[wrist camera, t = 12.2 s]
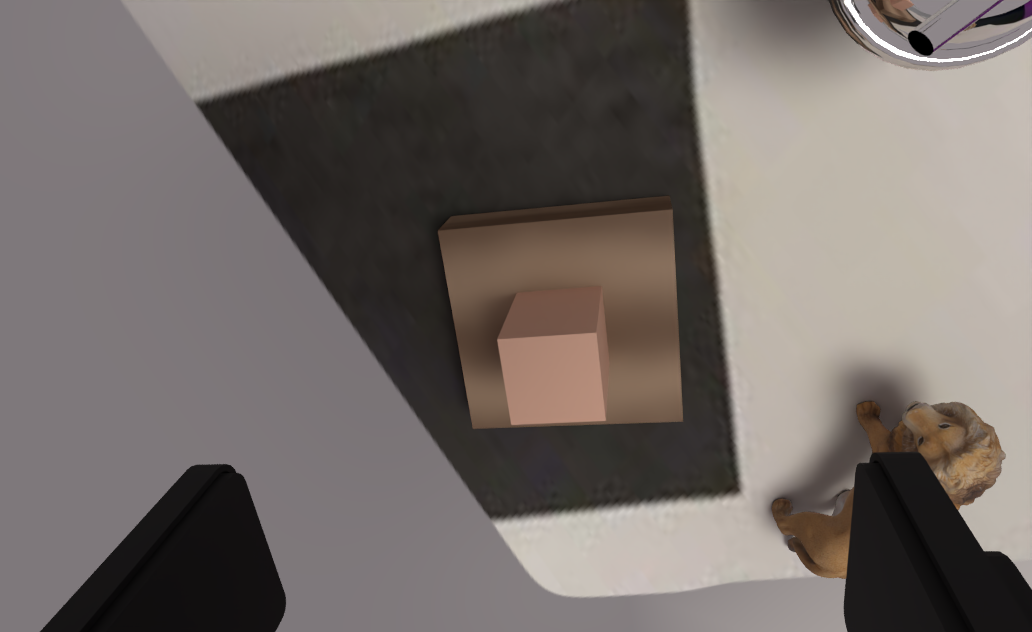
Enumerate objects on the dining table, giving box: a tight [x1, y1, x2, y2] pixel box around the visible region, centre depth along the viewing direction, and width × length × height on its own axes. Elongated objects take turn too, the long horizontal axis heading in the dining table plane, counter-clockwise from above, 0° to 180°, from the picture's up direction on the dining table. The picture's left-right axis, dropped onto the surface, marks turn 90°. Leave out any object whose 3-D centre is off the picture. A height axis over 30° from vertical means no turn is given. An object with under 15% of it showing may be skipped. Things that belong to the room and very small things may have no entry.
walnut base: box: [438, 196, 683, 429], centre depth 39 cm, size 12×12×3 cm
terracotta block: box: [497, 286, 610, 425], centre depth 35 cm, size 4×4×6 cm
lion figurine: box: [772, 401, 1006, 579], centre depth 37 cm, size 15×5×9 cm, turn 161°
